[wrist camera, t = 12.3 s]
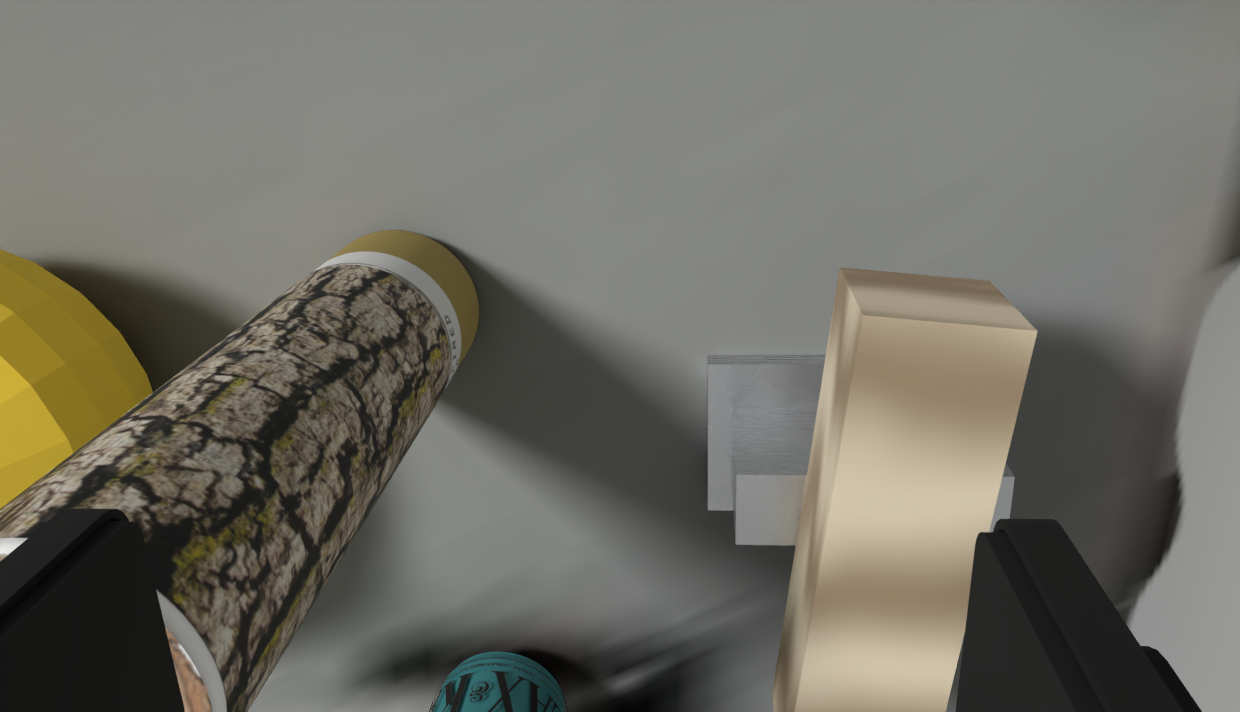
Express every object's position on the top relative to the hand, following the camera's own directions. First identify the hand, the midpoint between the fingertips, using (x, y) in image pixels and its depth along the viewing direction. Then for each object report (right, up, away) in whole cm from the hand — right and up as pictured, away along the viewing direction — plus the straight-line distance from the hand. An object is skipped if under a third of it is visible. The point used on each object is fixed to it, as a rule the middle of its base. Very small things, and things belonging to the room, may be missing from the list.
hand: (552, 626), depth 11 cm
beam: (+10, -3, +25) cm, 27 cm away
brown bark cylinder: (-9, +5, +31) cm, 33 cm away
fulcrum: (+11, 0, +32) cm, 34 cm away
